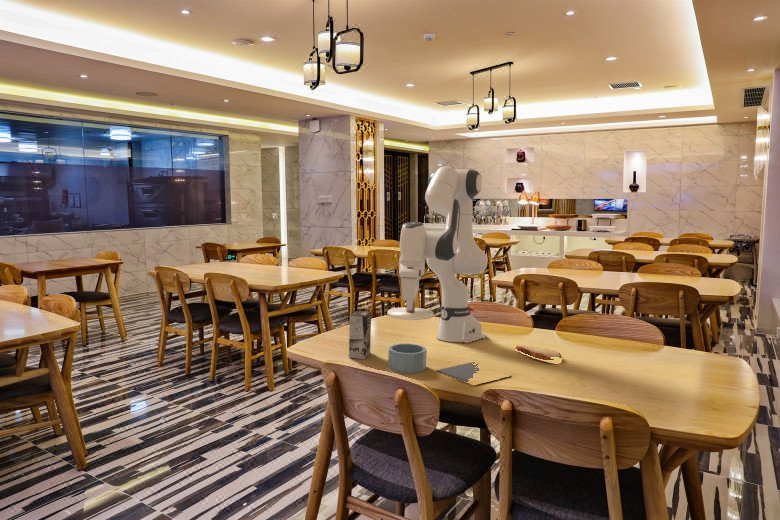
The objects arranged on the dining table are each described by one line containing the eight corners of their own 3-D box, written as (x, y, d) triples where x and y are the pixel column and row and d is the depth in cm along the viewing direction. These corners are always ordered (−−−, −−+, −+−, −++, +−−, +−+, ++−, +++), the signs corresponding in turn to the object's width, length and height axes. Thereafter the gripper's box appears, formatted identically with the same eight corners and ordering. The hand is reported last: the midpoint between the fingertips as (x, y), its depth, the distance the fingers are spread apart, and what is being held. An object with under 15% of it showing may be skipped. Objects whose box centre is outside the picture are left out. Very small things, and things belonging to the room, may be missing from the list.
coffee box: (365, 359, 203) (366, 316, 202) (348, 358, 205) (349, 315, 203) (370, 352, 212) (371, 311, 210) (354, 351, 214) (355, 310, 212)
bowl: (409, 360, 204) (410, 341, 204) (432, 369, 194) (433, 350, 193) (381, 366, 197) (381, 346, 196) (403, 376, 186) (404, 355, 186)
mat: (473, 363, 202) (473, 361, 202) (511, 376, 188) (511, 375, 188) (436, 371, 192) (436, 370, 192) (473, 386, 177) (473, 385, 177)
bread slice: (514, 349, 224) (514, 340, 224) (560, 353, 220) (561, 343, 220) (513, 361, 207) (513, 352, 207) (563, 366, 203) (564, 356, 202)
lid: (413, 308, 204) (413, 296, 204) (443, 316, 191) (443, 303, 191) (378, 313, 194) (378, 300, 194) (407, 321, 182) (407, 308, 181)
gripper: (406, 265, 202) (404, 302, 203) (399, 272, 182) (397, 314, 183) (423, 265, 201) (422, 303, 202) (418, 273, 181) (416, 315, 182)
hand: (410, 308), depth 193 cm, fingers closed on lid, 3 cm apart
